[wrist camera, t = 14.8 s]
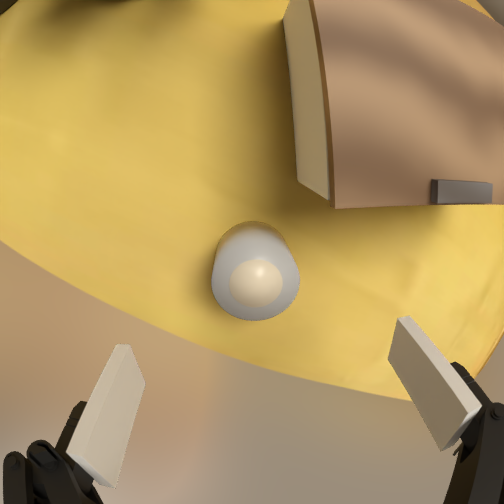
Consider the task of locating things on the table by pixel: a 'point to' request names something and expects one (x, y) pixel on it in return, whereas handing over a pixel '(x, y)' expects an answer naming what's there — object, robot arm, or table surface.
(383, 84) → the lid
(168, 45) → the table surface
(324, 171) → the box
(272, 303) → the grey squat drum
